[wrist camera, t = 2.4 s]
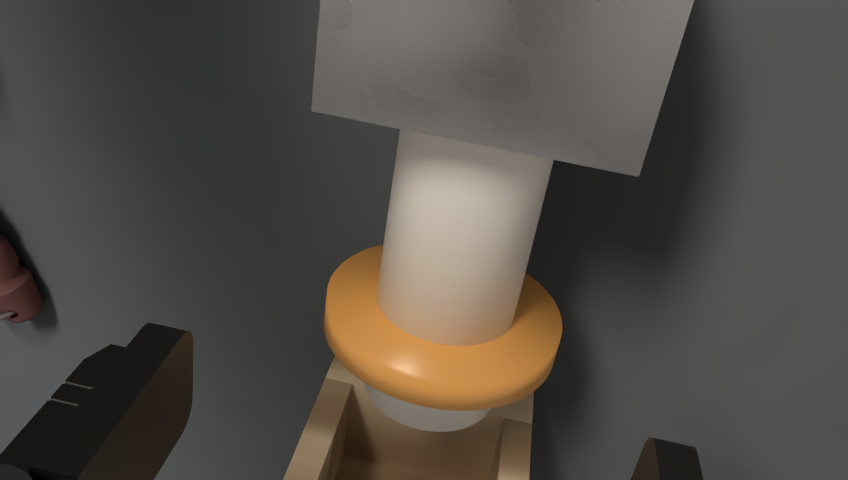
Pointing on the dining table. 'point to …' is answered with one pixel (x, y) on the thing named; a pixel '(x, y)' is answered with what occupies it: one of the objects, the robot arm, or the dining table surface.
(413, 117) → the grey block
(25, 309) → the coffee pot
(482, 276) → the tube
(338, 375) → the socket
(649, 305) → the dining table surface
